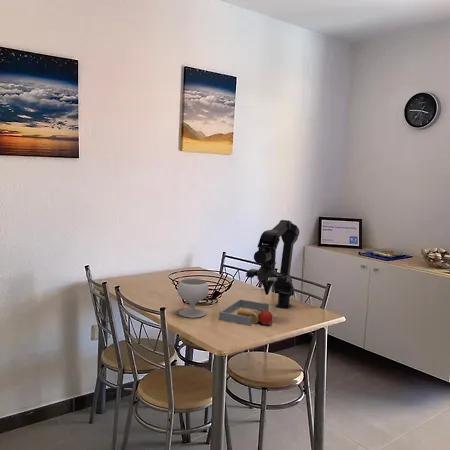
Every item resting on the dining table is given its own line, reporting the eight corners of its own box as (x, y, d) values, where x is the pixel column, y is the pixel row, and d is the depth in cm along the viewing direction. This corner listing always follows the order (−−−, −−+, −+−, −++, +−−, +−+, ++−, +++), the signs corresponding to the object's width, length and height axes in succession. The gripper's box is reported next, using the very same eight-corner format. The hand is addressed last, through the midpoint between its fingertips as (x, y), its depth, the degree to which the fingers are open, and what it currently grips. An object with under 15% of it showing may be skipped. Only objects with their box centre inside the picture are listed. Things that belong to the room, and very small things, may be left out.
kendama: (232, 321, 205) (265, 325, 193) (233, 306, 206) (266, 310, 194) (243, 320, 211) (276, 325, 199) (244, 306, 212) (276, 310, 200)
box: (239, 306, 223) (239, 299, 222) (268, 311, 217) (269, 304, 217) (218, 319, 201) (219, 312, 201) (250, 325, 196) (251, 317, 195)
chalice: (207, 309, 215) (208, 278, 213) (207, 319, 201) (209, 286, 199) (177, 308, 214) (178, 277, 212) (175, 318, 200) (176, 284, 199)
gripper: (242, 260, 200) (240, 295, 202) (283, 266, 193) (281, 302, 195) (251, 256, 210) (250, 289, 212) (291, 261, 203) (289, 296, 205)
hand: (266, 294), depth 206 cm, fingers closed
